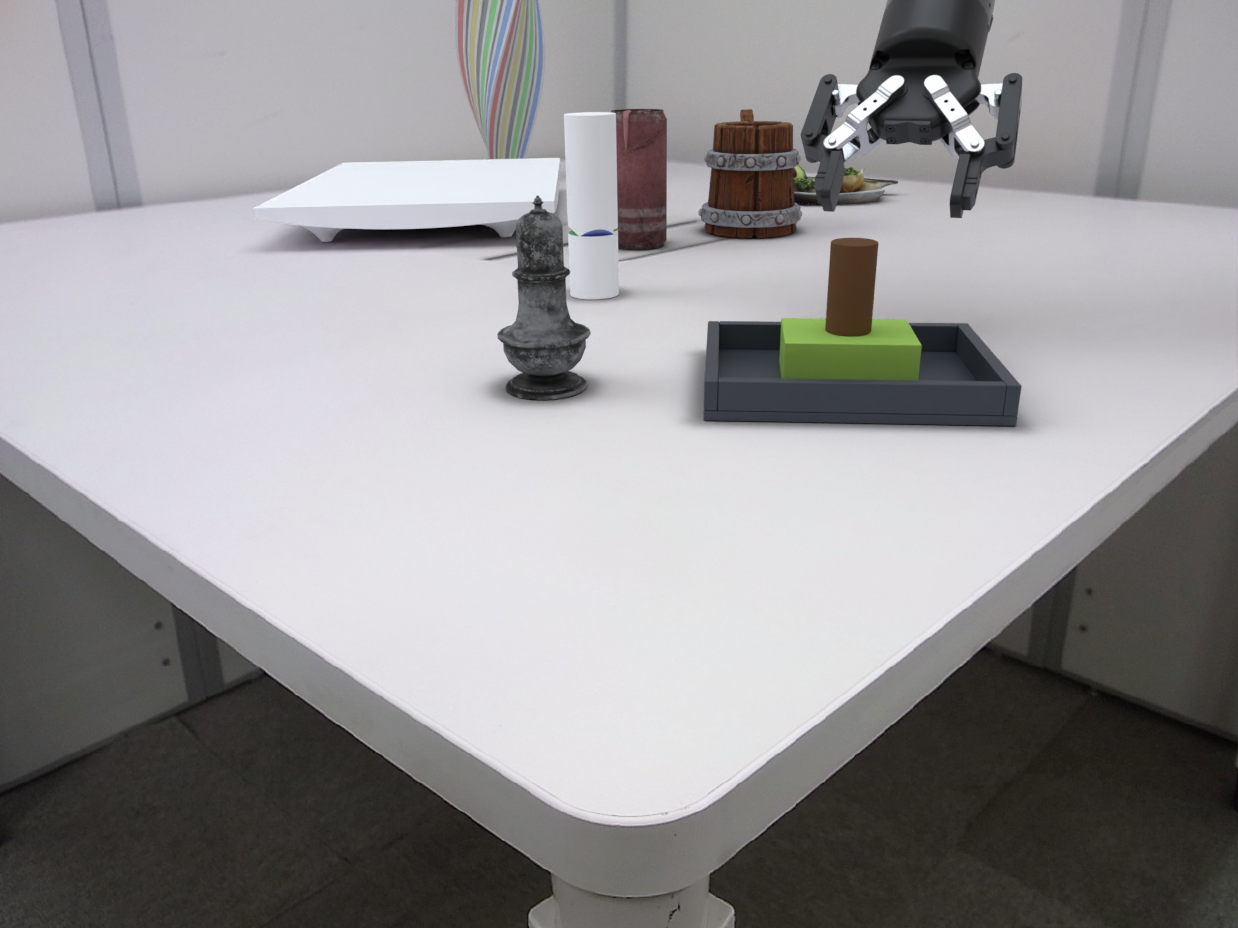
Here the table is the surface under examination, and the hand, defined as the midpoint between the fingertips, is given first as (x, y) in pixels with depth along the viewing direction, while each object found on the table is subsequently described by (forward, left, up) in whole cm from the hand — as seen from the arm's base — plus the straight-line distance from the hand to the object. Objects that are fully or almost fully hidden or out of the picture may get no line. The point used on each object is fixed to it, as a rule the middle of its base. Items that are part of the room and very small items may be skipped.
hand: (889, 207), depth 68 cm
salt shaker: (+22, +9, -10) cm, 26 cm away
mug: (+8, -51, -10) cm, 52 cm away
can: (+20, -40, -10) cm, 46 cm away
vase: (+46, -98, -10) cm, 108 cm away
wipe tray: (+3, +8, -10) cm, 13 cm away
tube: (+22, -17, -10) cm, 29 cm away
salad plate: (-2, -77, -10) cm, 77 cm away
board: (+48, -60, -10) cm, 77 cm away
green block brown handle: (+3, +8, -9) cm, 13 cm away
